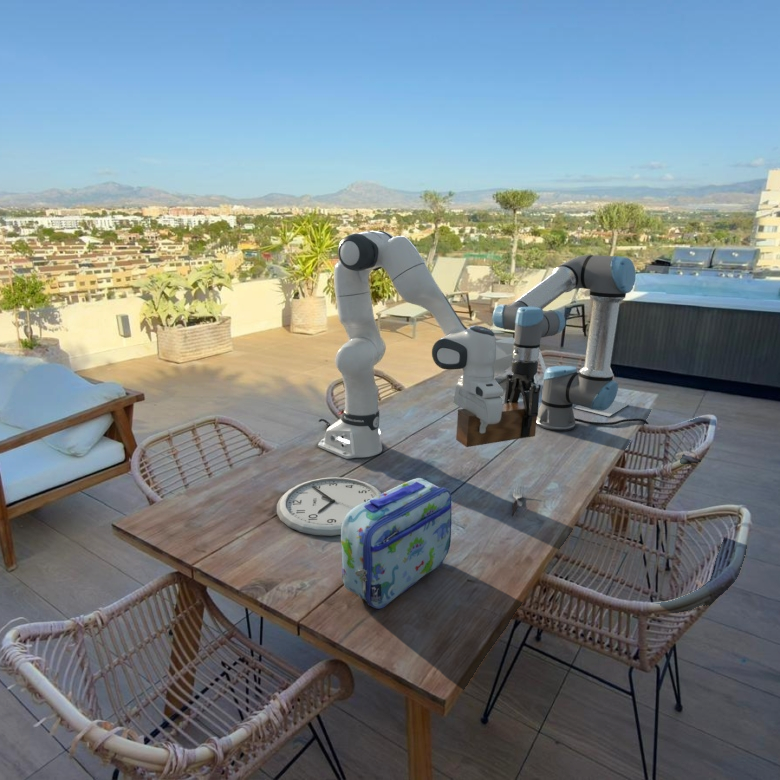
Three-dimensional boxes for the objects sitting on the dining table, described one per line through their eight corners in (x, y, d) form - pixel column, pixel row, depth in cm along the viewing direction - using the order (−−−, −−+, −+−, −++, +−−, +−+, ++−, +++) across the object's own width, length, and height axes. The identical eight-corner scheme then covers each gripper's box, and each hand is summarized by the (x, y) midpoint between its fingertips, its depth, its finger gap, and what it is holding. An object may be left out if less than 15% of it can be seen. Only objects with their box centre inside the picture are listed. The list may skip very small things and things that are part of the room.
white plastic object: (486, 418, 267) (465, 395, 242) (467, 346, 289) (447, 318, 264) (556, 394, 255) (543, 367, 230) (531, 321, 277) (516, 289, 252)
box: (522, 429, 166) (525, 400, 163) (535, 436, 161) (538, 406, 158) (456, 439, 157) (458, 409, 154) (466, 447, 152) (468, 416, 149)
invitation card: (608, 416, 214) (573, 407, 224) (608, 416, 214) (573, 408, 224) (628, 404, 229) (594, 396, 238) (628, 405, 229) (594, 397, 238)
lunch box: (370, 622, 101) (370, 527, 94) (335, 595, 108) (333, 505, 102) (455, 565, 118) (460, 481, 112) (420, 544, 125) (423, 465, 119)
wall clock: (392, 527, 129) (268, 531, 127) (391, 533, 130) (269, 537, 127) (383, 473, 158) (282, 475, 155) (383, 478, 158) (282, 480, 156)
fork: (506, 517, 138) (507, 510, 138) (514, 490, 152) (515, 483, 152) (516, 518, 137) (517, 512, 137) (523, 491, 152) (524, 485, 151)
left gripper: (450, 374, 158) (448, 417, 163) (488, 394, 140) (484, 442, 145) (468, 373, 161) (465, 415, 165) (507, 392, 143) (503, 438, 147)
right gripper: (496, 353, 162) (490, 423, 169) (535, 368, 145) (527, 445, 152) (516, 351, 165) (509, 420, 172) (557, 366, 148) (548, 442, 155)
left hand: (474, 428), depth 155 cm, fingers closed on box, 6 cm apart
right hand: (518, 432), depth 162 cm, fingers closed on box, 6 cm apart
